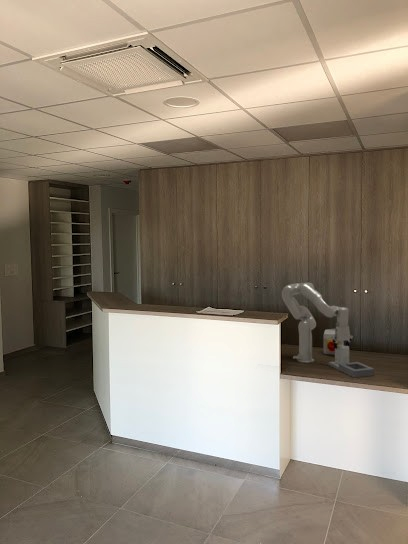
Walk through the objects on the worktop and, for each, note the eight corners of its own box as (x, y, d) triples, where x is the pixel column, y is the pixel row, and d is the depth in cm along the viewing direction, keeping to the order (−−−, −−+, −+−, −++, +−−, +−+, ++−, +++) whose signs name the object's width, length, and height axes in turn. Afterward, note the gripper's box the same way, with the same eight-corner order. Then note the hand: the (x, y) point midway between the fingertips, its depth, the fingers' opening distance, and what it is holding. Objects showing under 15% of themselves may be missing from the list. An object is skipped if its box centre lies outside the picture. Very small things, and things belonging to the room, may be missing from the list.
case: (353, 377, 301) (353, 371, 301) (326, 364, 333) (326, 358, 333) (374, 375, 305) (374, 368, 305) (345, 362, 338) (345, 356, 338)
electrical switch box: (322, 358, 358) (322, 334, 354) (325, 351, 371) (325, 328, 367) (341, 360, 352) (341, 335, 348) (343, 352, 366) (343, 329, 362)
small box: (349, 364, 326) (349, 346, 325) (342, 365, 323) (343, 347, 322) (341, 361, 333) (341, 344, 332) (334, 362, 330) (334, 345, 329)
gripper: (334, 326, 320) (333, 349, 321) (356, 325, 325) (354, 348, 326) (329, 323, 327) (328, 347, 329) (349, 323, 332) (348, 345, 333)
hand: (341, 347), depth 327 cm, fingers open, 9 cm apart
